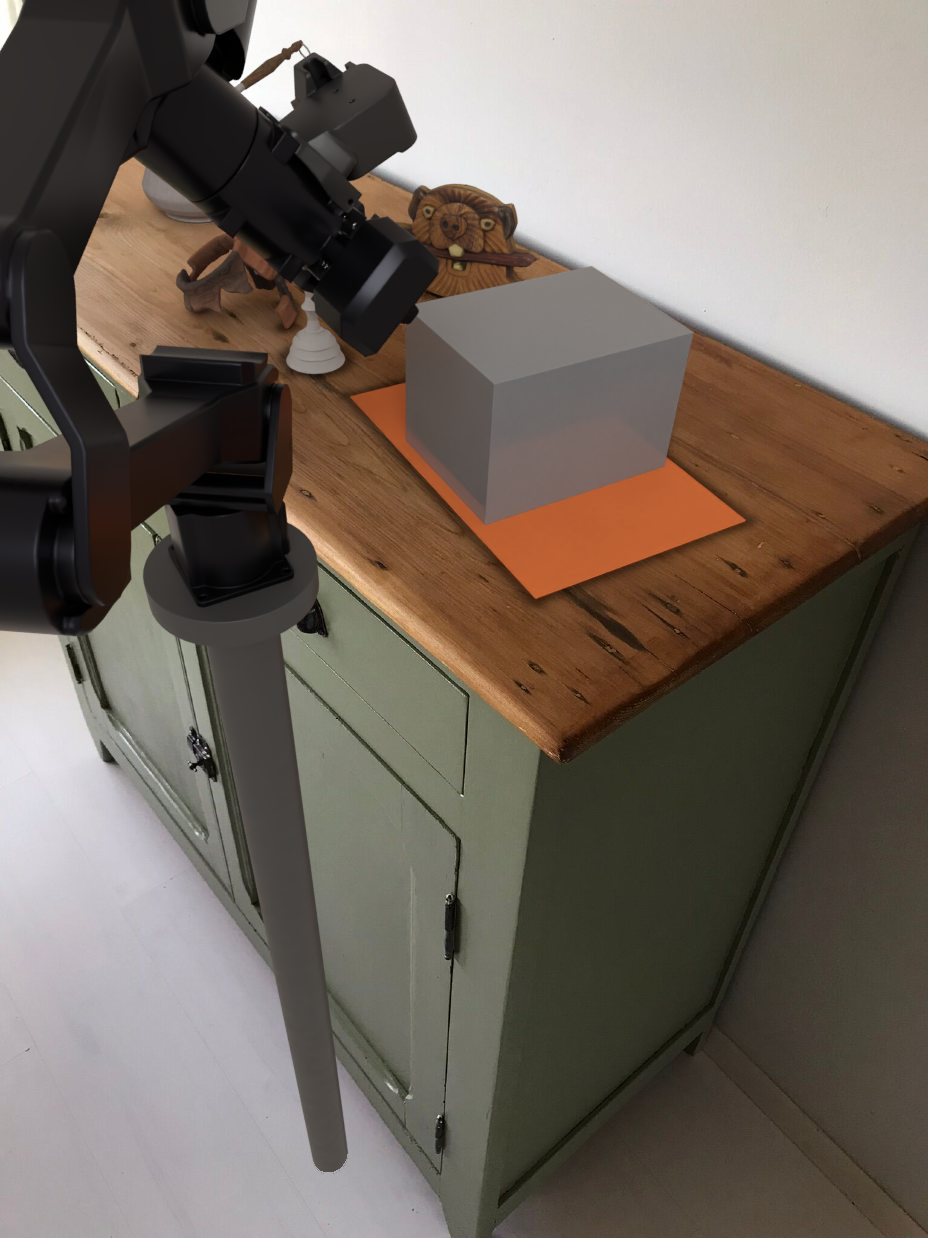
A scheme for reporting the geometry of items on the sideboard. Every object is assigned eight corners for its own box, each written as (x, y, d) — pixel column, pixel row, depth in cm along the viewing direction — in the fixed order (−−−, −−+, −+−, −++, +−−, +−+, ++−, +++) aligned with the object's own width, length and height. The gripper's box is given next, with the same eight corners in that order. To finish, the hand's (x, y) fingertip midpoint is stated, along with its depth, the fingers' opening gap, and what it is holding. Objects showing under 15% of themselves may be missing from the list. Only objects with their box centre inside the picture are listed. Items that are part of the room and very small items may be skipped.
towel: (535, 602, 62) (535, 597, 61) (350, 400, 79) (350, 396, 79) (744, 524, 68) (746, 519, 68) (532, 354, 86) (533, 350, 86)
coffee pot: (179, 237, 101) (153, 79, 90) (128, 204, 107) (98, 53, 97) (344, 196, 111) (337, 50, 101) (289, 168, 118) (277, 28, 107)
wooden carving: (364, 292, 93) (360, 185, 86) (379, 273, 96) (377, 169, 89) (529, 318, 90) (539, 210, 83) (539, 298, 93) (549, 192, 87)
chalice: (328, 332, 87) (315, 116, 74) (373, 362, 83) (366, 140, 71) (258, 355, 83) (232, 132, 71) (301, 388, 79) (281, 158, 67)
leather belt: (288, 350, 85) (230, 275, 79) (210, 374, 90) (150, 305, 84) (326, 264, 91) (274, 189, 85) (251, 290, 96) (197, 221, 90)
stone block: (484, 525, 67) (494, 384, 59) (405, 440, 74) (405, 305, 66) (664, 466, 73) (693, 331, 65) (574, 394, 80) (591, 265, 73)
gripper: (403, 59, 41) (582, 267, 53) (247, -24, 52) (422, 162, 64) (249, 271, 43) (454, 425, 55) (132, 147, 55) (322, 296, 67)
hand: (412, 315), depth 60 cm, fingers closed
